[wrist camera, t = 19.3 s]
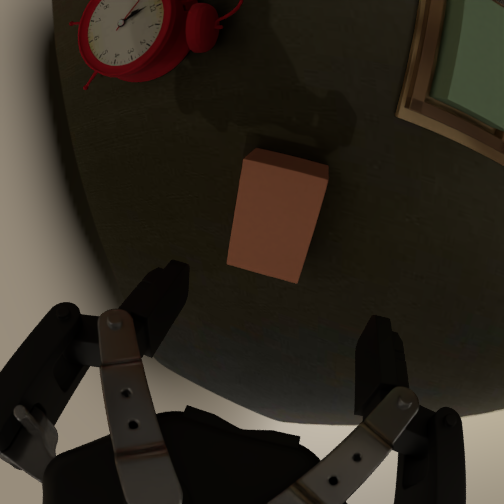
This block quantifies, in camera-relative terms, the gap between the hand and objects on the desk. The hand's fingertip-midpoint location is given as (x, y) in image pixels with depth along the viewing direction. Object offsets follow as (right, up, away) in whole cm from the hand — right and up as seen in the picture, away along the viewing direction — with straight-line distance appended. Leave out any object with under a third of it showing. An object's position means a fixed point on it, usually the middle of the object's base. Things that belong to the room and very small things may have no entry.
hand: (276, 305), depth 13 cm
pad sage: (+15, +17, +2) cm, 23 cm away
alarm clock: (-8, +22, +7) cm, 24 cm away
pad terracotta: (+1, +6, +13) cm, 15 cm away
